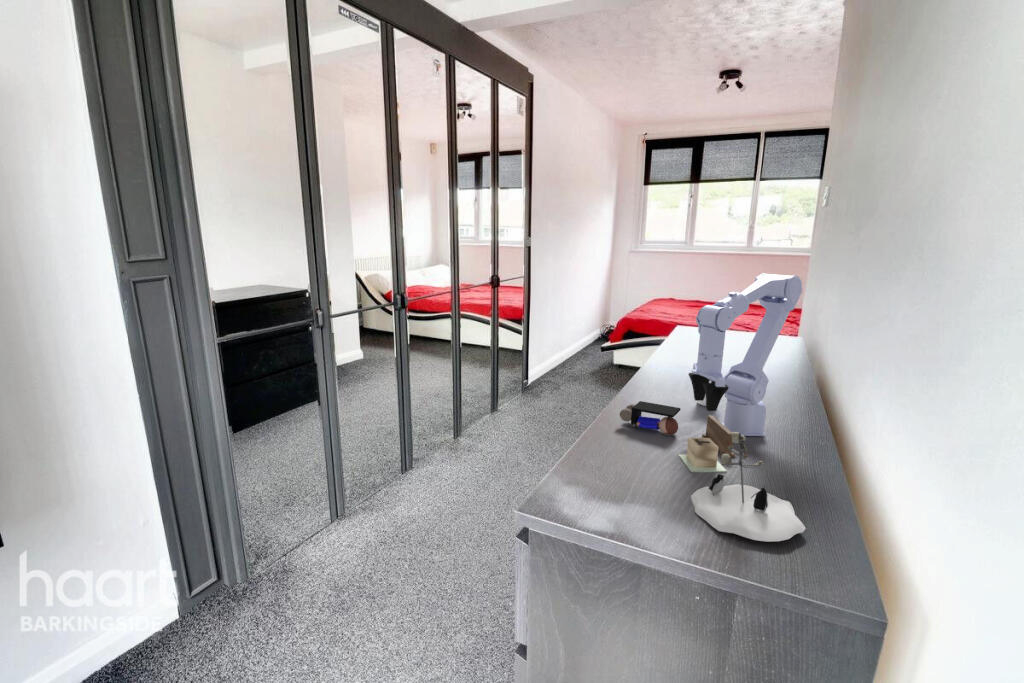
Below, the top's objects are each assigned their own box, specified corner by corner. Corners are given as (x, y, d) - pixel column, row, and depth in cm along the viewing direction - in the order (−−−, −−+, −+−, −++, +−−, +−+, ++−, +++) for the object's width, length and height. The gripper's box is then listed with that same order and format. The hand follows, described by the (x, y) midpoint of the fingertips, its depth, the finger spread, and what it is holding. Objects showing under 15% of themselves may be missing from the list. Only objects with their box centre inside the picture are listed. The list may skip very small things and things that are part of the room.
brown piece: (713, 436, 124) (715, 415, 123) (734, 457, 112) (737, 434, 111) (702, 436, 124) (704, 415, 123) (722, 457, 112) (725, 433, 111)
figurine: (830, 533, 82) (834, 444, 80) (746, 554, 77) (749, 459, 74) (742, 487, 101) (745, 414, 99) (671, 501, 96) (671, 424, 93)
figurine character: (619, 432, 130) (674, 440, 121) (617, 405, 128) (673, 412, 119) (628, 424, 135) (681, 432, 126) (627, 399, 134) (681, 404, 125)
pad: (711, 456, 113) (711, 454, 112) (726, 472, 105) (726, 470, 105) (678, 455, 112) (678, 454, 112) (691, 472, 105) (691, 470, 105)
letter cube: (707, 457, 111) (709, 437, 110) (716, 467, 106) (718, 446, 105) (686, 457, 111) (688, 437, 110) (694, 467, 106) (696, 446, 105)
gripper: (683, 346, 123) (679, 395, 126) (706, 361, 109) (700, 415, 112) (710, 347, 123) (705, 395, 126) (736, 361, 109) (730, 415, 112)
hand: (704, 405), depth 119 cm, fingers open, 7 cm apart
